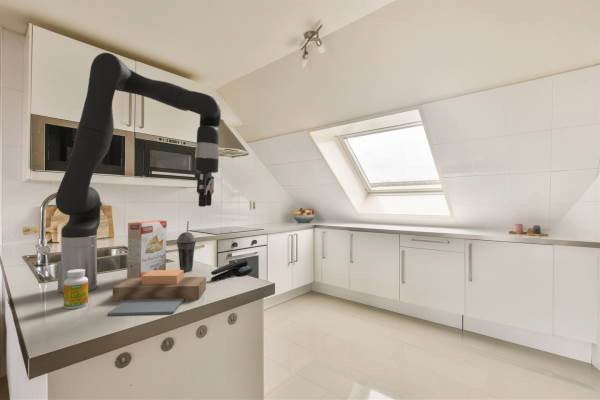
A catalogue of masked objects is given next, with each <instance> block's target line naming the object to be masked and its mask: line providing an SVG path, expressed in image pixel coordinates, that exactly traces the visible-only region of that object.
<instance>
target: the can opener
mask: <svg viewBox="0 0 600 400" xmlns="http://www.w3.org/2000/svg"><path fill="white" fill-rule="evenodd" d="M252 271H253V268H252V267H251V266H249V265H248V260H247V259H241V260H234V261H233V262H230V263H227V264H225V265H222V266H220V267H218V268H216V269H214V270H212V271H211V272H210V273H211V275H212V277H211V278H210V280H211V281H212V282H216V281H220V280H223V279H225V278H227V277H229V276H230V275H233V274H236V275H238V276H242V277H243V275H244V276H247V275H249V274H250V273H251V272H252Z"/></svg>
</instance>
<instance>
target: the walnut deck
mask: <svg viewBox="0 0 600 400" xmlns="http://www.w3.org/2000/svg"><path fill="white" fill-rule="evenodd" d="M206 289H207V276H183V279H181V280H180V281H179V282H178V283H177V284H142V278H128V279H127V278H126V279H124V280H122V281H121V282H119V283H118V284H116V285H115V286H112V302H124V301H125V300H130V299H177V298H184V301H189V300H191V301H192V300H193V301H195V300H200V298H202V295H203V294H204V293H205V291H206Z"/></svg>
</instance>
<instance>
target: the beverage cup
mask: <svg viewBox="0 0 600 400" xmlns="http://www.w3.org/2000/svg"><path fill="white" fill-rule="evenodd" d="M189 223H190V222H189V220H188V221H187V223H186V231H185V232H182V233H181V234H179V236H178V237H177V240H176V247H177V249H178V250H177V252H178V263H179V270H184V273H188V272H189V273H190V272H192V271H193V266H194V255H195V247H196V237H195V235H194V234H193V233H191V232H189V225H190V224H189Z"/></svg>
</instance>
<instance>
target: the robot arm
mask: <svg viewBox="0 0 600 400" xmlns="http://www.w3.org/2000/svg"><path fill="white" fill-rule="evenodd" d="M116 91H119V92H124V93H129V94H133V95H137V96H141V97H145V98H148V99H151V100H153V101H157V102H159V103H162V104H165V105H167V106H169V107H173V108H175V109H177V110H181V111H184V112H187V111H189V112H191V113H195V114H197V115H199V126H198V127H197V131H196V146H195V155H194V156H195V159H194V171H195V172H197V178H196V179H197V180H196V181H197V182H196V193H198V207H200V208H201V207H210V206H212V200H213V199H212V196H213V194H214V191H215V190H214V187H215V184H214V183H215V182H214V181H215V177H214V175H212V174H216V173H217V174H218V172H219V158H220V153H219V152H220V151H219V150H220V149H219V138H220V136H219V135H220V133H219V130H220V123H221V117H222V115H221V114H222V110H221V107H220V105H219V103H218V101H217V99H215V97H213V96H211V95H208V94H206V93H203V92H200V91H199V92H198V91H194V90H189V89H188V88H185V87H182V86H180V85H177V84H174V83H171V82H168V81H162V80H156V79H151V78H148V77H146V76H143V75H141V74H139V73H137V72H135V71H133V70H132V69H130V68H129V67H128V66H127V65H126V64H125V63H124V62H123V61H122V60H121V59H119V57H117V56H116V55H114V54H112V53H109V52H101V53H99V54H98V55H96V56H95V57H94V58H93V61H92V63H91V65H90V71H89V79H88V86H87V91H86V98H85V100H84V103H83V108H82V113H81V117H80V120H79V122H78V125H77V129H76V133H75V136H74V137H75V138H74V141H73V146H72V148H71V152H70V156H69V159H68V164H67V167H66V169H65V172H64V175H63V178H62V180H61V182H60V185H59V187H58V189H57V192H56V196H55V205H56V206H55V207H56V209H57V210H59V212H60V213H62V214H63V215H67V216H69V218H68V220H67V223H65V225H63V226H62V228H61V229H60V230H61V231H60V232H61V233H60V236H61V237H60V239H61V242H60V243H61V245H60V247H61V248H60V249H61V250H60V251H61V253H60V257H61V259H60V260H59V261H58V262H57V293H62V294H64V281H65V280H66V279H68V277H67V271H70V270H74V269H85V275H84V277H87V278H88V292H89V291H93V290H95V289H96V288H97V286H98V284H97V282H98V277H97V276H98V228H99V226H100V223H101V207H102V206H101V196H100V193H99V192H98V190H97V189H95V188H93V187H92V186H90V185H91V181H92V178H93V175H94V173H95V171H96V169H97V167H98V166H99V165H100V163H102V161H103V159H104V158H105V157H106V155H107V153H108V152H109V150H110V146H111V143H112V139H113V135H114V132H115V131H114V128H115V126H114V125H115V124H114V122H115V121H114V113H113V100H114V96H115V92H116Z"/></svg>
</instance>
